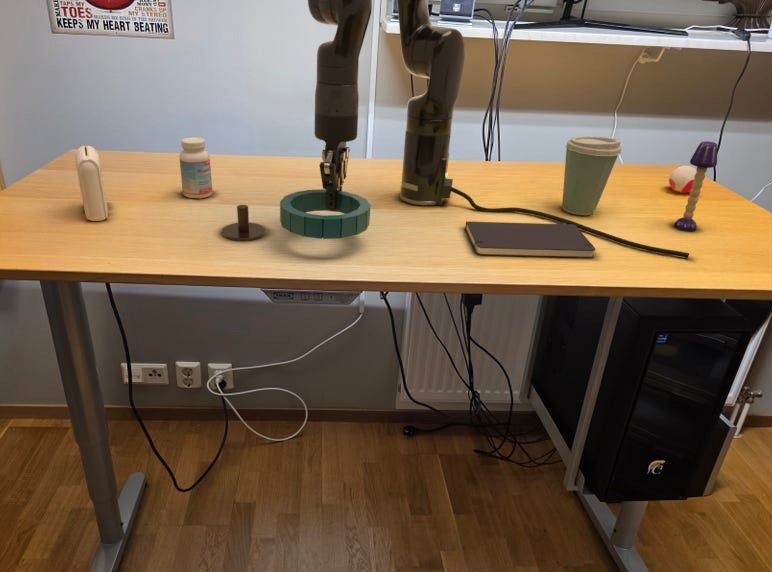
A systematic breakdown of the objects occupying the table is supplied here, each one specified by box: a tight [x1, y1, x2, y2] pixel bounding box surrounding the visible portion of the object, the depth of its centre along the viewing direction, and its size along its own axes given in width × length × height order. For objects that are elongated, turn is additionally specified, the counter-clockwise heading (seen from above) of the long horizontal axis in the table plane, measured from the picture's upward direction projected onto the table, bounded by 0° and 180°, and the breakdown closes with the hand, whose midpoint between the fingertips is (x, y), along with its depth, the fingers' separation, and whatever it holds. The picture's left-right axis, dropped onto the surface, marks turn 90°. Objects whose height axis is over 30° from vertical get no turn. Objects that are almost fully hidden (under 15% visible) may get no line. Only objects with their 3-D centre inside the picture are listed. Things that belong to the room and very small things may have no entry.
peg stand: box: [221, 204, 267, 242], centre depth 119 cm, size 8×8×5 cm
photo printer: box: [74, 145, 109, 222], centre depth 123 cm, size 10×4×12 cm, turn 20°
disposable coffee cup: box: [561, 135, 622, 216], centre depth 134 cm, size 11×11×15 cm
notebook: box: [464, 221, 596, 259], centre depth 121 cm, size 13×2×21 cm
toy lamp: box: [673, 140, 718, 232], centre depth 127 cm, size 5×5×17 cm
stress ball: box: [668, 165, 697, 194], centre depth 151 cm, size 8×8×7 cm
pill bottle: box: [178, 136, 213, 199], centre depth 135 cm, size 6×6×11 cm
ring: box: [279, 188, 371, 240], centre depth 115 cm, size 16×16×4 cm
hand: (333, 207), depth 122 cm, fingers closed on ring, 2 cm apart
